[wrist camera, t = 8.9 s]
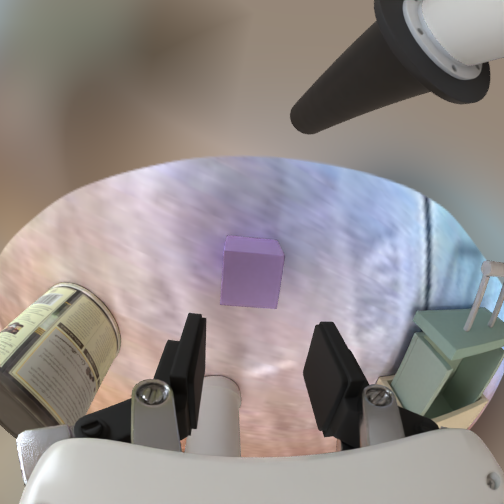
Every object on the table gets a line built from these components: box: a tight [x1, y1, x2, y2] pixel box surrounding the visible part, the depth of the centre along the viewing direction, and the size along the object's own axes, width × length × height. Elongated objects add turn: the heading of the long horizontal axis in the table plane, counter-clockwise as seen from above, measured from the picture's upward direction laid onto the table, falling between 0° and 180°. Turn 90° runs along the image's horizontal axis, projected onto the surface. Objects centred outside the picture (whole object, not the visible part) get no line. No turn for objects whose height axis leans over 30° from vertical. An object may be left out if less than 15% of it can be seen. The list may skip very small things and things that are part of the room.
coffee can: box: [0, 283, 121, 439], centre depth 17 cm, size 10×10×14 cm
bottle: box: [184, 376, 241, 457], centre depth 14 cm, size 5×5×25 cm
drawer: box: [390, 260, 504, 419], centre depth 22 cm, size 22×13×7 cm, turn 174°
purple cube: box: [220, 235, 285, 309], centre depth 20 cm, size 4×4×4 cm
